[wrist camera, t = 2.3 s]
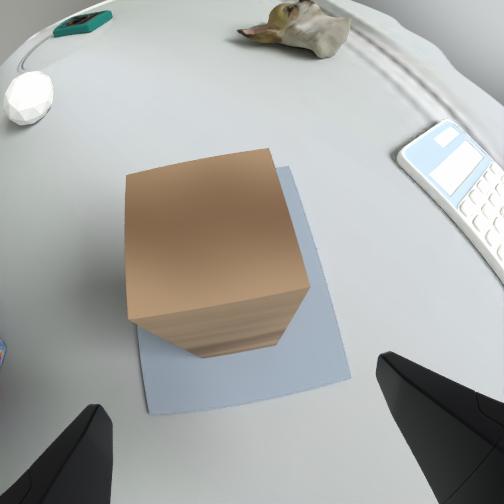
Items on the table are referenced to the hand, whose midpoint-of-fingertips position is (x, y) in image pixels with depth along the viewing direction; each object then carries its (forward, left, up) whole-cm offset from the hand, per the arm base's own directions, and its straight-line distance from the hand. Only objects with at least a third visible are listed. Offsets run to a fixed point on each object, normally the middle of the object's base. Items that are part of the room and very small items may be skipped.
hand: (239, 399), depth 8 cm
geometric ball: (+43, 0, -12) cm, 45 cm away
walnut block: (+4, -3, -11) cm, 12 cm away
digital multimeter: (+75, -18, -12) cm, 78 cm away
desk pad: (+7, -4, -12) cm, 14 cm away
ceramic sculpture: (+27, -35, -12) cm, 45 cm away
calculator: (-6, -30, -12) cm, 33 cm away
